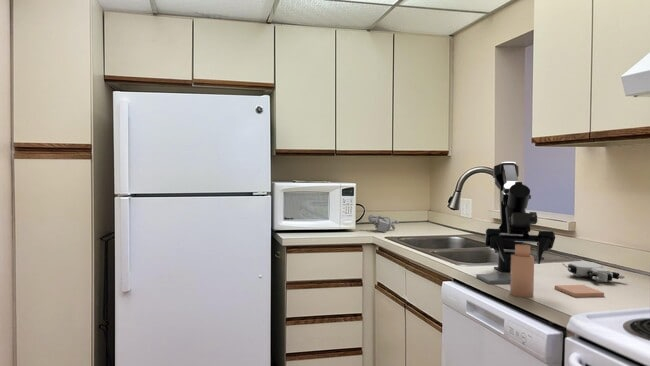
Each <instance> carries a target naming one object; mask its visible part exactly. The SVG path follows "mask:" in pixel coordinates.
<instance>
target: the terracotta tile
mask: <svg viewBox="0 0 650 366" xmlns="http://www.w3.org/2000/svg"><path fill="white" fill-rule="evenodd" d="M554 289H555V290H557V291H559V292H561V291H562V292H561V293H563V294H567V295H568V294H569V295H568V296H571V297H574V298H584V297H585V298H586V297H587V298H589V297H605V292H604V291H600V290H599V289H595V288H592V287H591V286H590V287H589V286H587V285H585V284H561V285H560V284H557V285H556V284H555V285H554Z"/></svg>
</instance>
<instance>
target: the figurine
mask: <svg viewBox="0 0 650 366" xmlns="http://www.w3.org/2000/svg"><path fill="white" fill-rule="evenodd" d="M367 221H368V224H370V225H371V224H372V225H373V226H375V227H374V228H375V229H376V231H379V232H381V233H387V232H388V231H389V230H390V229H391V228H392V231H394V230H396V226H395V224H396V225H398V224H399V223H400V221H399V220H397V219H392V218H391V217H390V216H382V215H381V214H379V215H376V214H369V215H368V217H367Z"/></svg>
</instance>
